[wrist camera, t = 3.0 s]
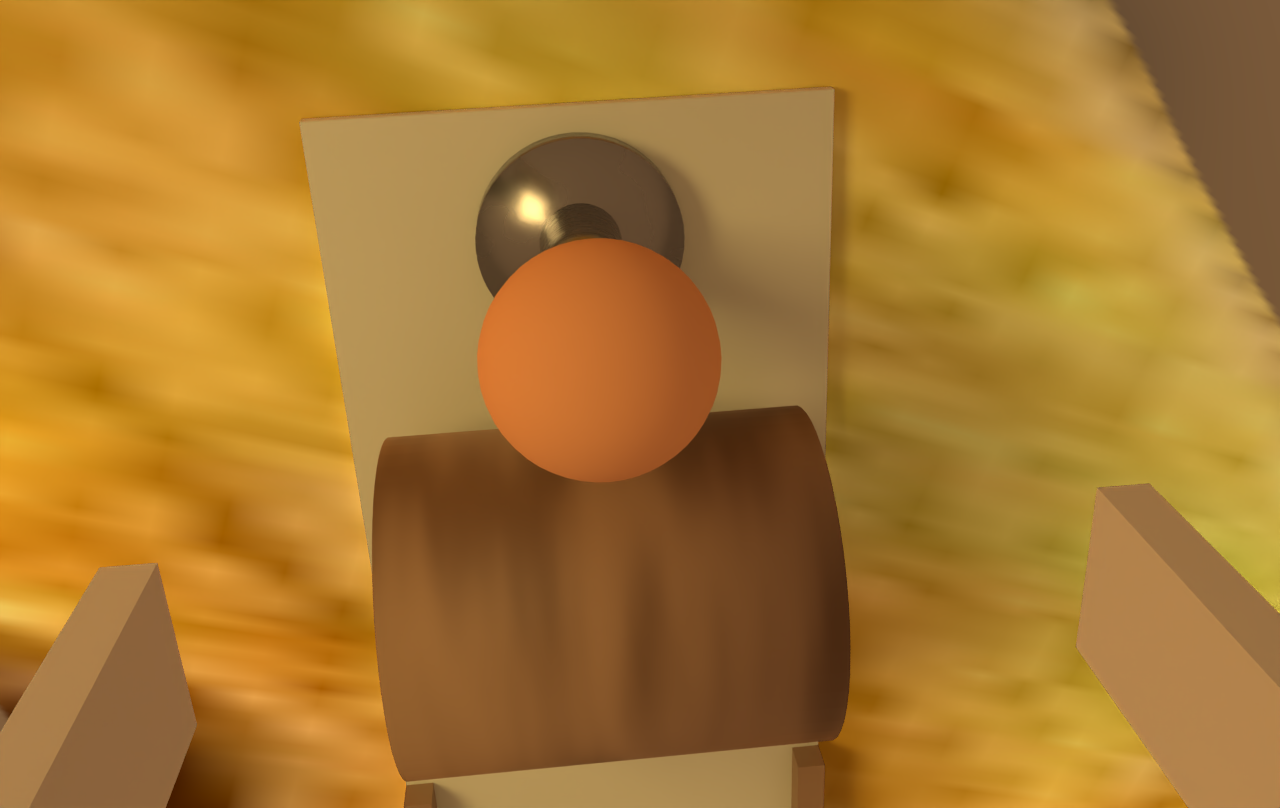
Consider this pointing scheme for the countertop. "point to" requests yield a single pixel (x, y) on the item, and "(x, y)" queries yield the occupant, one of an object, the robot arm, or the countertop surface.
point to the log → (608, 601)
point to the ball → (599, 360)
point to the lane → (459, 299)
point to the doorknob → (574, 203)
